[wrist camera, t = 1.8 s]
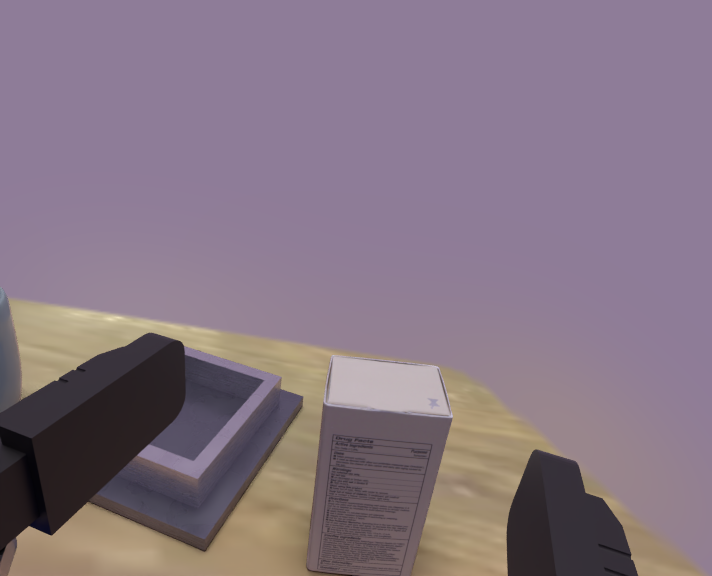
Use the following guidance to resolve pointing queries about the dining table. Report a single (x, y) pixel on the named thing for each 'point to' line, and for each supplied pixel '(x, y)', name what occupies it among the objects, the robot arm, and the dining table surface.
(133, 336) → the dining table surface
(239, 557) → the dining table surface
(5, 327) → the cup
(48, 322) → the dining table surface
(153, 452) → the tray
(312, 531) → the skincare box
